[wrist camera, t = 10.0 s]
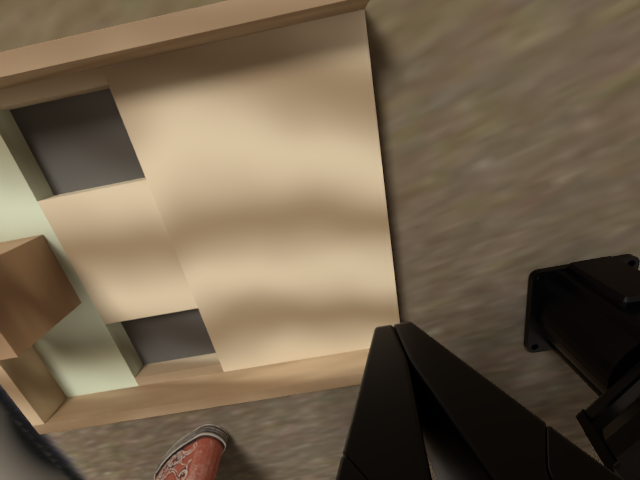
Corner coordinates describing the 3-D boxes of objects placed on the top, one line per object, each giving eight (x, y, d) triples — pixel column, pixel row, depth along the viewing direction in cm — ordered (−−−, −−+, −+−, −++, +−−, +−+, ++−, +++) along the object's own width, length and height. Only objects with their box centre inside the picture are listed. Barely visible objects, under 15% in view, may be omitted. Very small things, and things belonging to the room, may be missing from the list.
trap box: (397, 337, 23) (411, 376, 19) (76, 389, 24) (39, 434, 21) (357, -3, 15) (369, -32, 12) (-113, 102, 16) (-219, 101, 13)
